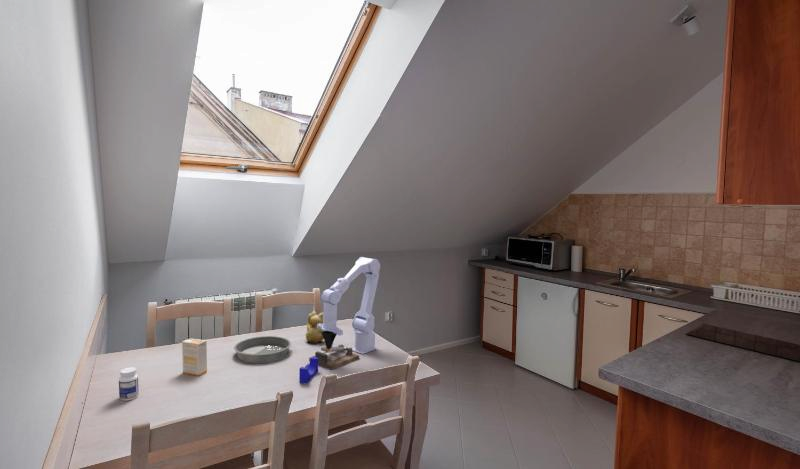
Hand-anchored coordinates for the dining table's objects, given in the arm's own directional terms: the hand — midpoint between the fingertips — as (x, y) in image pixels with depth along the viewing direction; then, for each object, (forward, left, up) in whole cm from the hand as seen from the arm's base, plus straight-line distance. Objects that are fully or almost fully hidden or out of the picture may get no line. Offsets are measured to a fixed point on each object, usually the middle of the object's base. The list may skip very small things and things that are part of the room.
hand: (329, 347), depth 184 cm
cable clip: (+16, +5, -7) cm, 18 cm away
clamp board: (-3, 0, -6) cm, 7 cm away
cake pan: (+14, -29, -7) cm, 33 cm away
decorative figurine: (-12, -24, -7) cm, 28 cm away
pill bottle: (+69, -27, -7) cm, 74 cm away
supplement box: (+44, -31, -7) cm, 54 cm away
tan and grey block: (-4, 0, -2) cm, 4 cm away
